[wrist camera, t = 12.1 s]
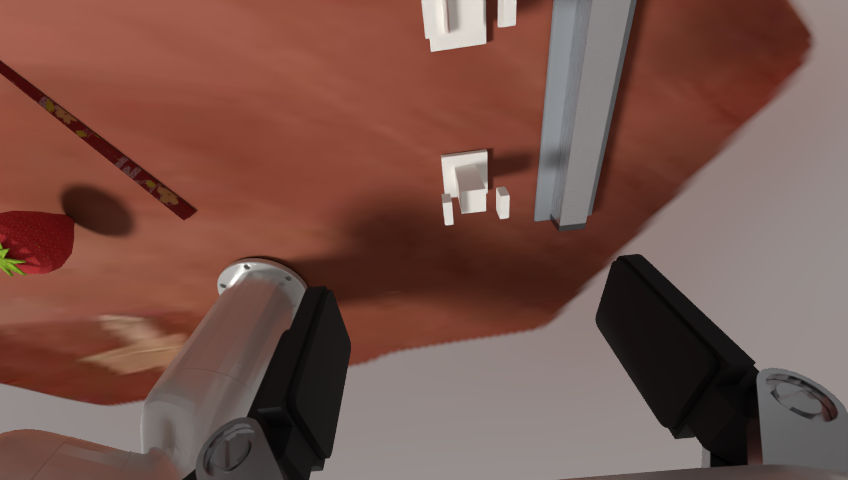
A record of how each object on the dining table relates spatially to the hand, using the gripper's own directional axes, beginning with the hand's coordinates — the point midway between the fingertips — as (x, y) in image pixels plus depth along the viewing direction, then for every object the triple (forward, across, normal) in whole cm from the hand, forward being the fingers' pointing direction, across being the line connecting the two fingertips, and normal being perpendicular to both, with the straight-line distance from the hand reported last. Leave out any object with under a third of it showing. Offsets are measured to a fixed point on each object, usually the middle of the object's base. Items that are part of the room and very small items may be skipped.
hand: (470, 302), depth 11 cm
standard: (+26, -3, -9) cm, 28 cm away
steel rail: (+26, -15, 0) cm, 30 cm away
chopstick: (+28, +36, -2) cm, 46 cm away
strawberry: (+28, +45, +7) cm, 54 cm away
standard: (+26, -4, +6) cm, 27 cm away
